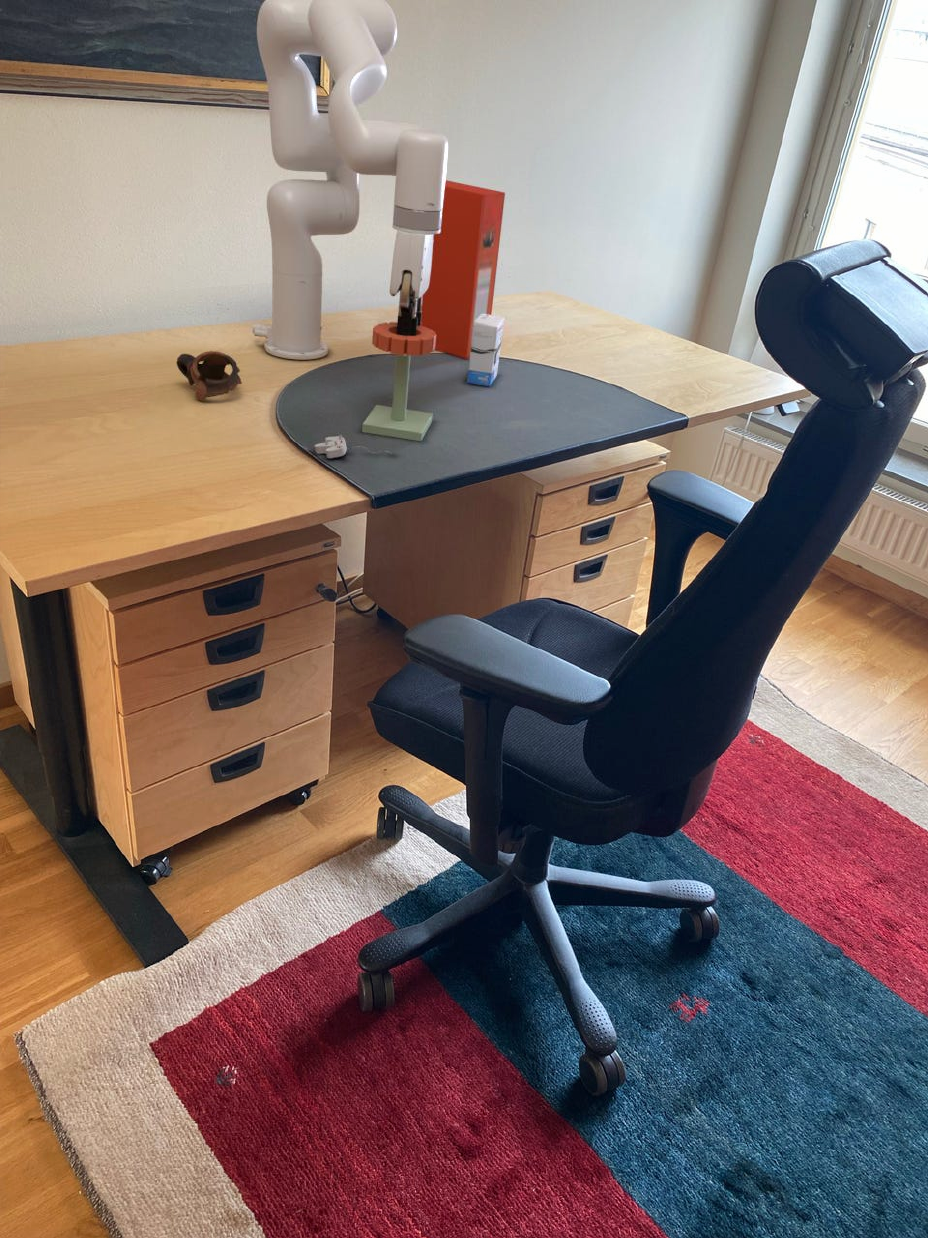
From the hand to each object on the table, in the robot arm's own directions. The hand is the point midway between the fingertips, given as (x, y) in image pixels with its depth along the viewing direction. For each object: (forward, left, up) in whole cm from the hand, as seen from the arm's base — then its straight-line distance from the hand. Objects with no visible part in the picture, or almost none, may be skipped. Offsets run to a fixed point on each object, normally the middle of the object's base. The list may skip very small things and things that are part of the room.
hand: (408, 337), depth 156 cm
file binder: (-1, +48, -14) cm, 50 cm away
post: (0, -4, -14) cm, 15 cm away
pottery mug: (-34, -2, -14) cm, 37 cm away
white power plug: (-4, -19, -14) cm, 24 cm away
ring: (0, -4, 0) cm, 4 cm away
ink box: (+10, +29, -14) cm, 34 cm away
